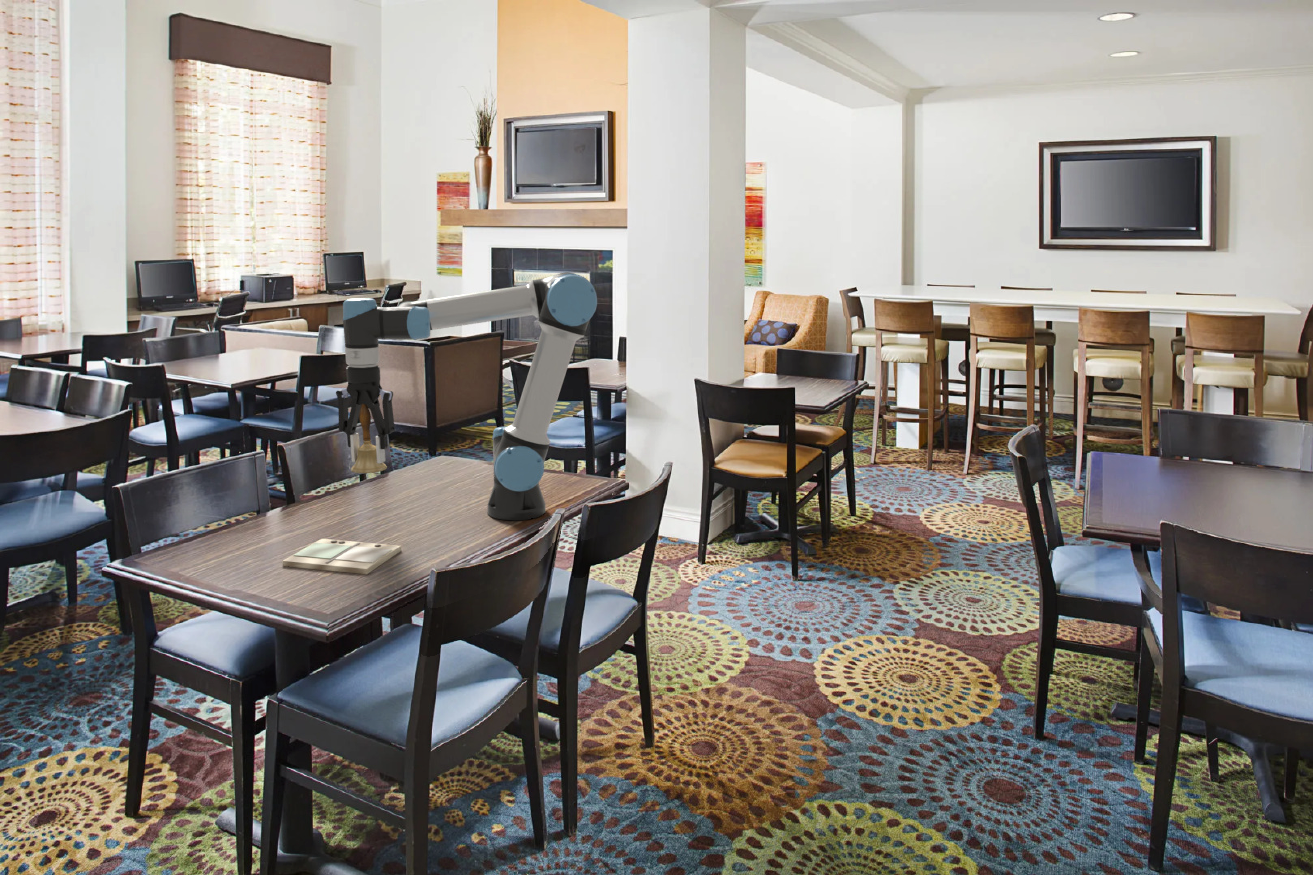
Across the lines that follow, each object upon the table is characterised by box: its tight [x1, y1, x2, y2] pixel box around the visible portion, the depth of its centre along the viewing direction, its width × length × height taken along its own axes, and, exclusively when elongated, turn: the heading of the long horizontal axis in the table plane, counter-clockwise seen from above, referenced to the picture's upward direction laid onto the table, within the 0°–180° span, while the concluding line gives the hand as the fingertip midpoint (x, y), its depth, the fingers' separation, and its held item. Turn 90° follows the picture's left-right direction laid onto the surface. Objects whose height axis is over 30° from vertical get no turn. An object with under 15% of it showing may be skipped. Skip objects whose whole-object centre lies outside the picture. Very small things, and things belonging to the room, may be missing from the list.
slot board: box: [281, 538, 402, 575], centre depth 215 cm, size 20×16×1 cm
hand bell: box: [350, 404, 388, 474], centre depth 228 cm, size 8×8×16 cm
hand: (368, 461), depth 229 cm, fingers closed on hand bell, 6 cm apart
